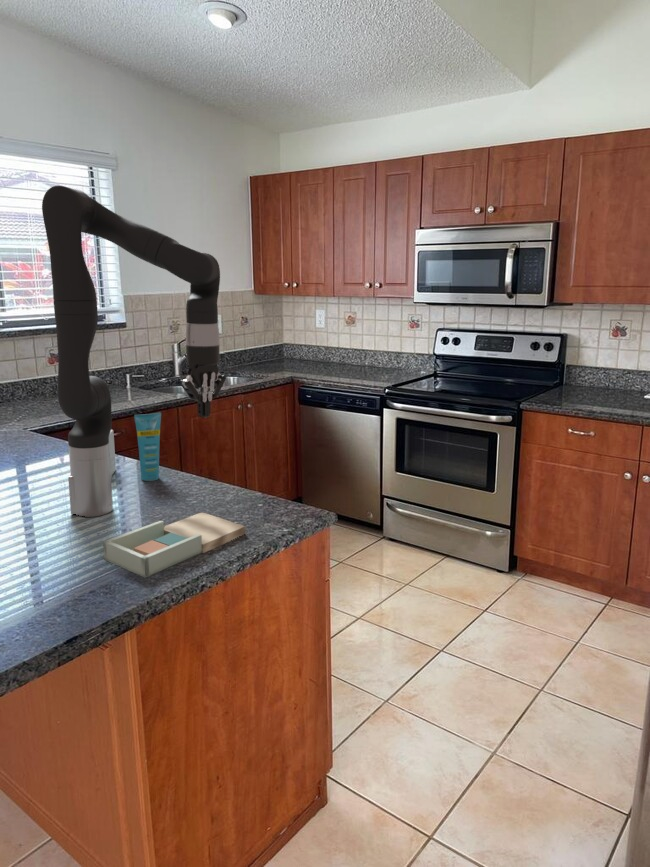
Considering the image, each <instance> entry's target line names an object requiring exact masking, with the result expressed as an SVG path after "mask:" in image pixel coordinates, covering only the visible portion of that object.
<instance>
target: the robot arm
mask: <svg viewBox="0 0 650 867" xmlns="http://www.w3.org/2000/svg"><path fill="white" fill-rule="evenodd" d="M41 211H42V212H41V214H42V218H43V224H44V228H45V234H46V238H47V239H46V240H47V244H48V250H49V257H50V272H51V282H52V298H53V309H54V310H53V311H54V320H55V326H56V327H55V329H56V330H55V331H56V341H57V342H56V344H57V357H58V359H57V360H58V361H57V363H58V369H57V370H58V371H57V373H58V374H57V399H58V400H57V401H58V404H59V406H60V409H61V410H62V412H63V414H64V415H65V416H67V418H69V419H71V420H75V423H74V425H73V427H72V428H71V430H70V431H69V432H68V434H67V445H68V456H69V457H68V459H69V468H70V475H69V476H68V477H67V478H68V492H69V506H70V515H71V514H72V515H71V516H74V515H73V514H76V515H75V516H78V515H79V516H78V517H82V516H85V517H84V518H86V517H87V518H88V517H89V518H90V517H91V518H92V517H100V516H103V515H106V514H109V513H110V512H112V511H113V510H114V506H113V505H114V503H113V487H112V486H113V485H112V476H111V468H110V452H109V434H110V431H111V430H112V422H113V420H112V397H111V392H110V389H109V386H108V384H107V383H106V382H105V380H104V379H102V378H101V377H98V376H95V375H90V366H89V363H90V362H89V360H90V353H91V349H92V346H93V342H94V339H95V336H96V332H97V328H98V323H99V314H98V313H99V312H98V311H99V310H98V299H97V292H96V288H95V285H94V281H93V279H92V276H91V274H90V271H89V269H88V266H87V263H86V260H85V257H84V252H83V244H82V243H83V242H82V241H83V239H82V233H84V234H87V235H92V236H94V237H95V236H96V237H99V238H102V239H104V240H106V241H109V242H110V243H112V244H114V245H117V246H118V247H120V248H121V249H123V250H125V251H126V252H128V253H129V254H131V255H133V256H134V257H136V258H138V259H140V260H143V261H144V262H146V263H149V264H151V265H153V266H155V267H158V268H161V269H162V270H165V271H167V272H169V273H171V274H172V275H173V276H176V277H178V278H179V279H181V280H183V281H184V282H187V283H189V284H190V286H189V287H190V290H189V297H188V298H187V299H186V300H187V301H186V305H185V306H186V307H185V310H186V312H185V313H186V326H185V327H186V328H185V354H186V363H187V365H188V370H187V372H186V373H187V376H186V377H185V378H184V379H180V381H179V385H180V386H181V387H182V389H183V390H184V392H185V393H186V395H187V396H188V397H189V399H190V400H192V401H196V404H197V415H198V417H199V418H202V419H203V418H205V419H206V418H209V417H210V416H211V411H212V410H211V406H212V405H211V402H212V401H213V399H214V398H218V396H219V393H220V392H221V390H222V387H223V386H224V384H225V382H226V380H227V376H226V375H224V374H221V373H220V369H219V366H218V364H219V363H220V360H221V359H220V331H219V330H220V328H219V317H218V316H219V310H218V299H219V293H220V292H219V290H220V284H221V269H220V264H219V261H218V260H217V259H216V258H215V257H214V255H212V254H210V253H205V252H200V251H198V250H195V249H192V248H190V247H188V246H186V245H183V244H181V243H179V242H178V241H177V240H176V239H174V238H173V237H170V236H168V235H166V234H164V233H161V232H159V231H157V230H154V229H152V228H151V227H148V226H145V225H143V224H140V223H138V222H135V221H133V220H130V219H128V218H127V217H124V216H122V215H119V214H118V213H116V212H114V211H112V210H111V209H109V208H107V207H106V206H105V205H102V204H101V203H100V202H98V201H96V200H95V199H94V198H92V197H91V196H90V195H88V194H87V193H85V191H82V190H80V189H77V188H74V187H71V186H66V185H63V184H61V185H60V184H58V185H53V186H51V187H50V188H48V189H47V191H45V193H44V195H43V198H42V202H41Z"/></svg>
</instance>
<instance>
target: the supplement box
mask: <svg viewBox="0 0 650 867" xmlns="http://www.w3.org/2000/svg"><path fill="white" fill-rule="evenodd" d="M114 436H115V433H114V429H111V431H110V434H109V452H110V468H111V477H112V476H113V475H114V473H115V472H116V471H117V468H116V467H117V466H116V453H115V452H116V451H115V449H116V448H115V437H114Z"/></svg>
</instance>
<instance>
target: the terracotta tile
mask: <svg viewBox="0 0 650 867" xmlns="http://www.w3.org/2000/svg"><path fill="white" fill-rule="evenodd" d="M165 547H168V545H165V544H162V543H159V542H156V541H153V540H151V541H149V542H147V543H144V544H142V545H140V546H137V547H135V548H134V551H135V552H137V553H140V554H142V555H144V556H146V555H148V554H151V553H153V552H156V551H158V550H160V549H163V548H165Z"/></svg>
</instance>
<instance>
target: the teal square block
mask: <svg viewBox="0 0 650 867" xmlns="http://www.w3.org/2000/svg"><path fill="white" fill-rule="evenodd" d="M185 539H187V538H186V537H183V536H180V535H177V534H174V533H169V534H167V535H164V536H162V537H160V538H157V539H155V540H154V541H156V542H159V543H162V544H165V545H168V546H170V545H173V544H175V543H177V542H180V541H182V540H185Z"/></svg>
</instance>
